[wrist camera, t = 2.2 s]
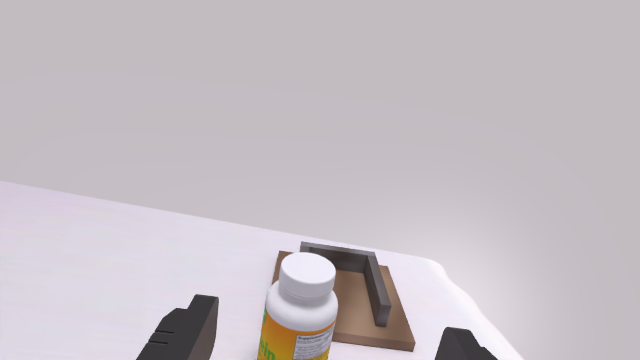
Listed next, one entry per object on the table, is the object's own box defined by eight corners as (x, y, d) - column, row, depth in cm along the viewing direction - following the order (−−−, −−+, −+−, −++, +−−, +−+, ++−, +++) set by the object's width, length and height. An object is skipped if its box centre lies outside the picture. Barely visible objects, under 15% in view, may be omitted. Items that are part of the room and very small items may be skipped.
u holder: (262, 331, 30) (266, 299, 29) (278, 257, 43) (281, 232, 42) (412, 351, 31) (422, 320, 30) (385, 273, 44) (391, 249, 43)
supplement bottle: (248, 352, 28) (262, 249, 25) (308, 340, 30) (326, 244, 28) (265, 412, 23) (284, 294, 21) (334, 393, 26) (359, 284, 23)
